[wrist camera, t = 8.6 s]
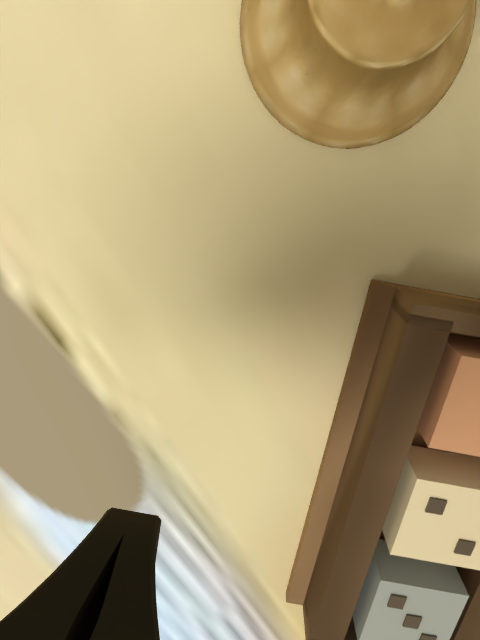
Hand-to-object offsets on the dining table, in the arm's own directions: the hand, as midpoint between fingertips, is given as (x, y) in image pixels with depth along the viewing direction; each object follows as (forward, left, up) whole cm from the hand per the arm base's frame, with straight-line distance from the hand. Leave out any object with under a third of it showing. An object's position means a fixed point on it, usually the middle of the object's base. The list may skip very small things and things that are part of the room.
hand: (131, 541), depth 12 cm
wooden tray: (-12, +3, -10) cm, 16 cm away
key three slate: (-12, +8, -9) cm, 17 cm away
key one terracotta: (-12, -2, -9) cm, 15 cm away
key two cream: (-12, +3, -9) cm, 15 cm away
